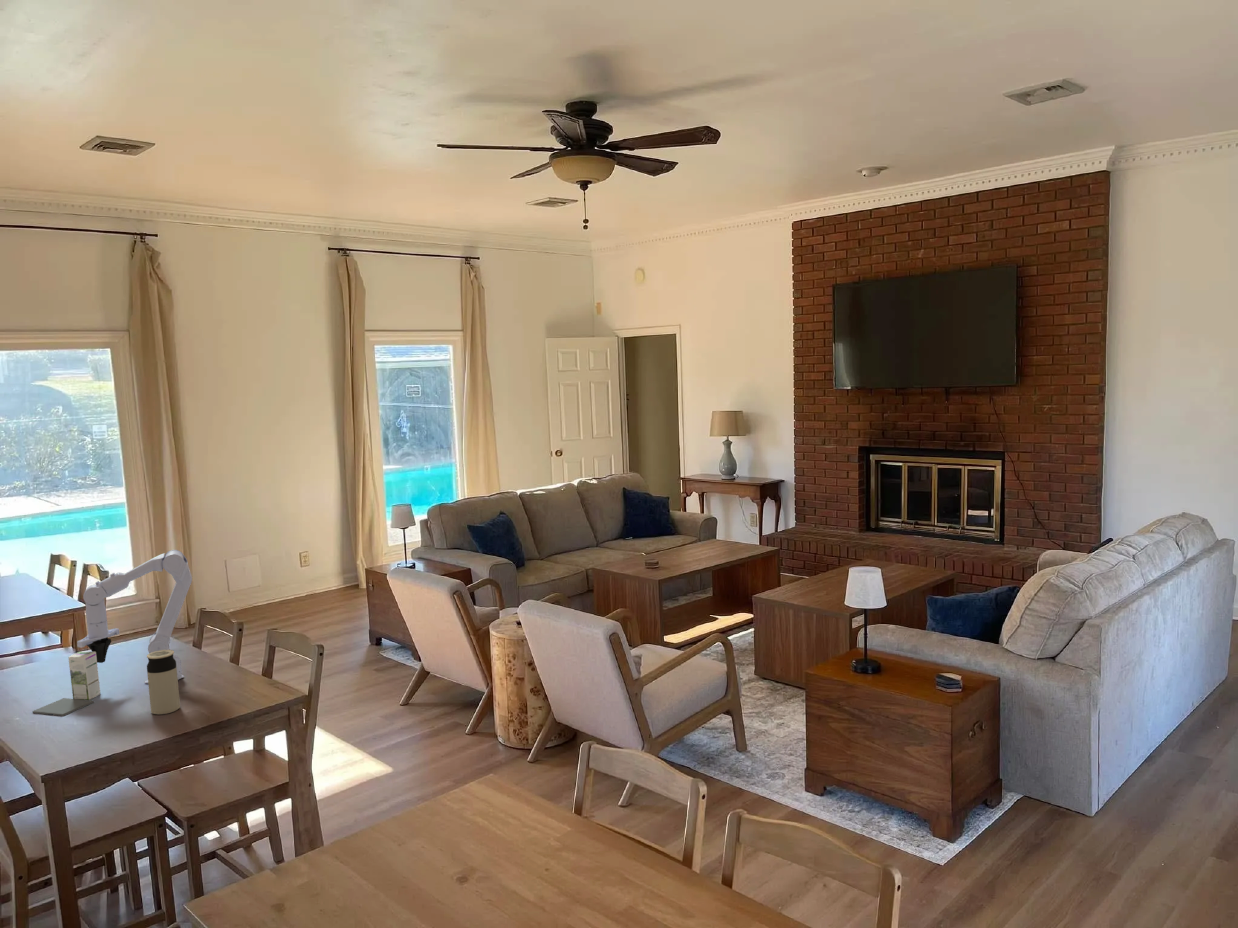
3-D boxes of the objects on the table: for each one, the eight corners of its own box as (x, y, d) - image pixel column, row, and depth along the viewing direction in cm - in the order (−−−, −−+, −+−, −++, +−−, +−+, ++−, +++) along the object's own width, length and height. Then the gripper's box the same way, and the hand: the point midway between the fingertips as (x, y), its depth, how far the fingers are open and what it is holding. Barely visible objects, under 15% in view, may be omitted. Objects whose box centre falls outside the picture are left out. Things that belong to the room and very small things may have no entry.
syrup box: (101, 693, 288) (96, 650, 286) (88, 700, 282) (84, 656, 280) (85, 693, 288) (80, 650, 287) (72, 700, 282) (67, 656, 281)
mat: (93, 702, 280) (93, 700, 280) (63, 715, 269) (62, 714, 269) (64, 699, 283) (63, 697, 283) (32, 712, 273) (32, 710, 273)
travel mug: (168, 715, 267) (162, 658, 265) (145, 714, 268) (139, 657, 266) (185, 705, 275) (180, 649, 273) (163, 704, 276) (158, 648, 274)
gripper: (105, 614, 297) (109, 654, 298) (68, 627, 283) (72, 668, 285) (122, 615, 295) (126, 655, 296) (85, 628, 281) (89, 669, 283)
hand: (101, 661), depth 290 cm, fingers closed
